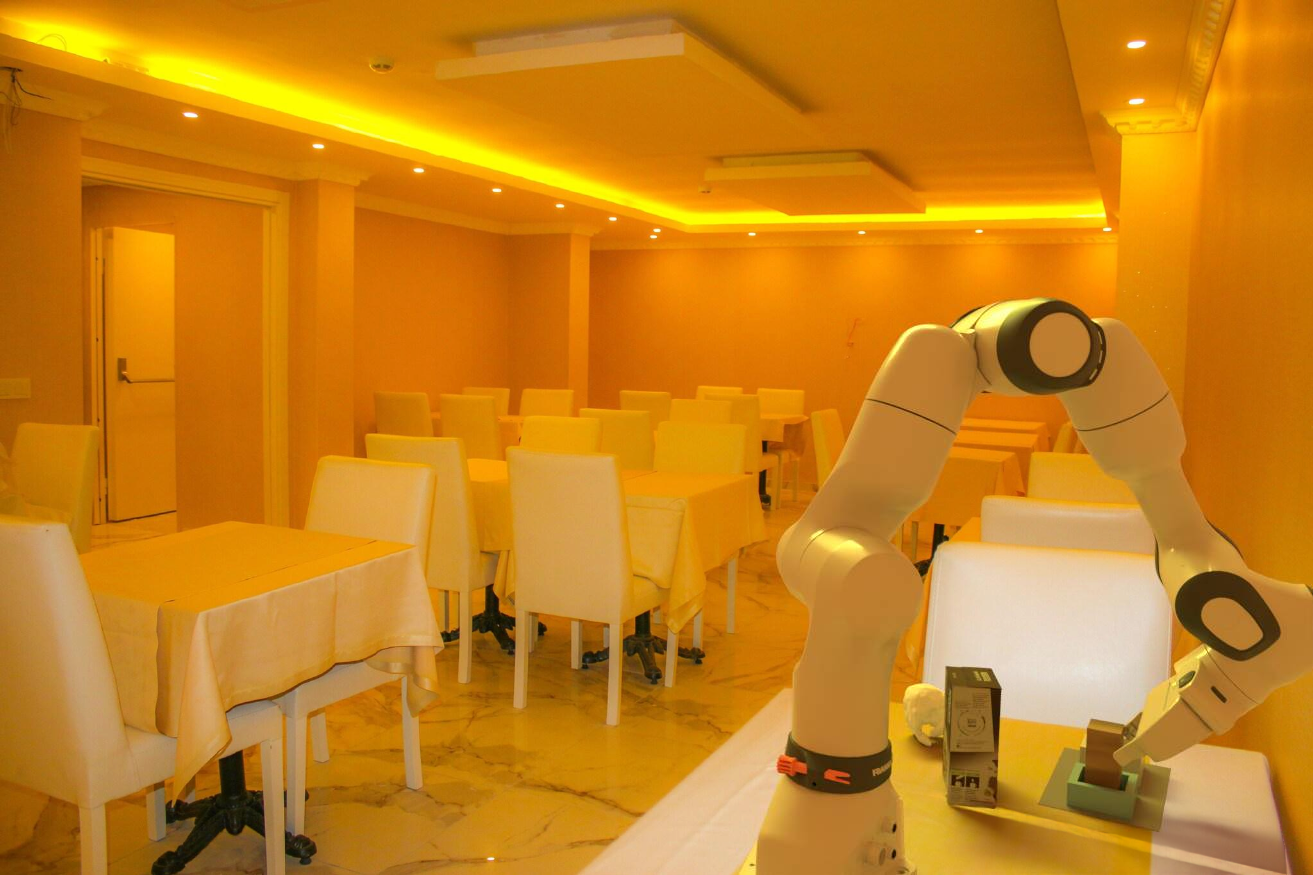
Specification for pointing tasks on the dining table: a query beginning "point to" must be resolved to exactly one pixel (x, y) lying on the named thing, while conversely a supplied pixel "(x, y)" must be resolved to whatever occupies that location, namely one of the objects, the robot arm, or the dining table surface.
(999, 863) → the dining table surface
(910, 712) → the white lumpy rounded piece
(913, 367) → the robot arm
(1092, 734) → the plug
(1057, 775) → the caddy
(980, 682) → the coffee box
